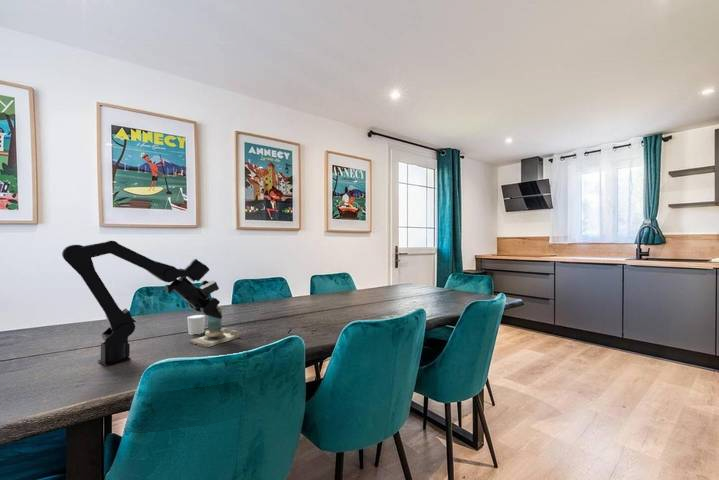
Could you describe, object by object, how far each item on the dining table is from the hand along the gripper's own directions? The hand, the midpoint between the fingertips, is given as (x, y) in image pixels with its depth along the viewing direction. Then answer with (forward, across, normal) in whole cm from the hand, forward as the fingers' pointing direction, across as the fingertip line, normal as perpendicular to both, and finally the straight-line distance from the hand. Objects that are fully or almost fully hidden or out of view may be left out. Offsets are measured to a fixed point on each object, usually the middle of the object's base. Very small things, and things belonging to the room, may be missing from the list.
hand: (218, 316), depth 124 cm
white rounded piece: (+4, +15, +9) cm, 18 cm away
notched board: (+5, 0, +7) cm, 9 cm away
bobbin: (+4, 0, +6) cm, 7 cm away
